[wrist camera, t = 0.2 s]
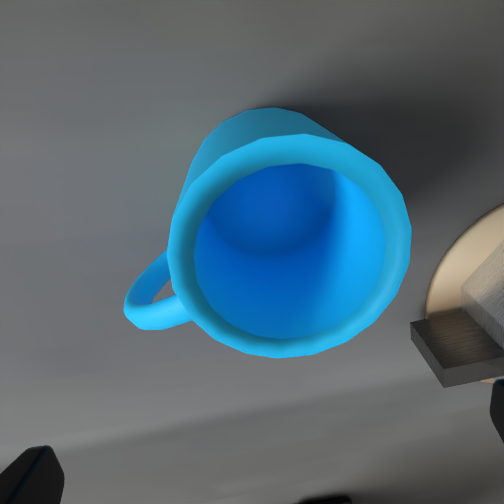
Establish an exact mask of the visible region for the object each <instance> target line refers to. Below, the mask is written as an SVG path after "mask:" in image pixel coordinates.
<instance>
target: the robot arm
mask: <svg viewBox="0 0 504 504" xmlns="http://www.w3.org/2000/svg"><path fill="white" fill-rule="evenodd" d="M490 416H491V419H492V422H493V424H494V426H495V428H496V429H497V431H498V433H499V435H500V437H501V439H502V441H503V443H504V378H502V379H497V380H495V382H494V383H493V388H492V396H491V403H490ZM63 488H64V473H63V470H62V468H61V466H60V463H59V461H58V459H57V457H56V455H55V453H54V451H53V449H52V448H51V447H50V446H47V445H44V446H38V447H31V448H28V449H27V450H25V451H24V452H23V453H22V454H21V455H20V456H19V457H18V458H17V459H16V460H15V461H13V462H12V463H11V464H10V465H9V466H8V467H7V468H6V469H5V470H4V471H3V472H2V473H1V474H0V504H60V502H61V497H62V492H63ZM312 504H352V502H351V499H350V498H348V497H343V498H338V499H333V500H327V501H322V502H317V503H312Z"/></svg>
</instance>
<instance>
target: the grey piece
mask: <svg viewBox="0 0 504 504" xmlns="http://www.w3.org/2000/svg"><path fill="white" fill-rule="evenodd" d="M410 328H411V340H412V341H413V343H414V344H415V346H416V347H417V349H418V350H419V352H420V353H421V355H422V356H423V358H424V359H425V360H426V362H427V363H428V365H429V366H430V368H431V369H432V371H433V372H434V374H435V375H436V377H437V378H438V380H439V381H440V383H441V384H442V386H443V387H444V388H446V387H451V386H456V385H461V384H466V383H471V382H476V381H481V380H486V379H491V378H494V380H497V379H502V378H504V240H503V241H502V242H501V243H500V244H499V245H498V246H497V248H496V249H495V250H494V251H493V252H492V253H491V254H490V255H489V256H488V257H487V258H486V259H485V260H484V261H483V262H482V264H481V265H480V266H479V267H478V268H477V269H476V270H475V271H474V272H473V273H472V274H471V275H470V276H469V277H468V278H467V280H466V281H465V282H464V283H463V284H462V285H461V286H460V312H457V313H453V314H448V315H443V316H438V317H433V318H429V319H424V320H419V321H414V322H410Z"/></svg>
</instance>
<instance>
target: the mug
mask: <svg viewBox="0 0 504 504" xmlns="http://www.w3.org/2000/svg"><path fill="white" fill-rule="evenodd" d="M411 234H412V228H411V224H410V221H409V217H408V214H407V210H406V206H405V203H404V199H403V196H402V194H401V192H400V191H399V190H398V188H397V187H396V186H395V184H394V183H393V182H392V180H391V179H390V178H389V176H388V175H387V174H386V172H385V171H384V169H383V168H382V167H381V165H380V164H378V163H377V162H375V161H374V160H372V159H371V158H369V157H368V156H366V155H365V154H363V153H362V152H360V151H358V150H357V149H355V148H354V147H352V146H351V145H349V144H348V143H346V142H345V141H343V140H342V139H340V138H339V137H337V136H336V135H334V134H333V133H331V132H330V131H328V130H327V129H325V128H323V127H322V126H320V125H319V124H317V123H316V122H314V121H313V120H311V119H309V118H308V117H306V116H305V115H303V114H302V113H298V112H294V111H290V110H286V109H281V108H277V107H271V108H261V109H251V110H247V111H245V112H242V113H240V114H238V115H236V116H234V117H232V118H229V119H227V120H225V121H223V122H222V123H221V124H220V125H219V126H218V127H217V128H216V129H215V130H214V131H213V132H212V133H210V134H209V135H208V136H207V137H206V138H205V139H204V141H203V142H202V144H201V146H200V148H199V150H198V152H197V154H196V155H195V157H194V159H193V161H192V163H191V166H190V169H189V172H188V175H187V178H186V180H185V183H184V186H183V189H182V192H181V195H180V198H179V201H178V204H177V206H176V209H175V212H174V215H173V218H172V223H171V229H170V236H169V242H168V249H167V250H165V251H164V252H163V253H162V254H161V255H160V256H159V257H158V258H157V259H156V260H154V261H153V262H152V263H151V264H150V265H149V266H148V267H147V268H146V269H145V270H144V271H143V273H142V274H141V275H140V276H139V277H138V278H137V279H136V280H135V282H134V283H133V285H132V286H131V288H130V290H129V291H128V293H127V294H126V297H125V303H124V313H125V316H126V317H127V318H128V319H129V320H130V321H131V322H132V323H134V324H135V325H136V326H137V327H138V328H140V329H143V330H163V329H167V328H170V327H173V326H177V325H180V324H183V323H186V322H189V321H191V320H193V321H194V322H195V323H196V324H198V325H199V326H200V327H201V328H202V329H203V330H205V331H206V332H207V333H208V334H209V335H210V336H212V337H213V338H214V339H215V340H217V341H219V342H221V343H224V344H226V345H228V346H230V347H233V348H235V349H237V350H239V351H242V352H244V353H246V354H253V355H260V356H267V357H274V358H287V357H296V356H305V355H313V354H316V353H319V352H321V351H324V350H327V349H329V348H332V347H335V346H337V345H340V344H343V343H345V342H347V341H348V340H350V339H351V338H353V337H354V336H355V335H357V334H358V333H360V332H361V331H362V330H364V329H365V328H367V327H368V326H370V325H371V324H372V323H374V322H375V320H376V319H377V318H378V317H379V316H380V314H381V313H382V312H383V311H384V310H385V308H386V307H387V306H388V305H389V303H390V302H391V301H392V300H393V299H394V297H395V296H396V294H397V292H398V289H399V287H400V285H401V282H402V280H403V278H404V275H405V273H406V270H407V268H408V266H409V260H410V247H411ZM170 278H171V281H172V286H173V290H174V292H175V293H176V294H175V295H173V296H170V297H167V298H165V299H162V300H159V301H157V302H154V303H151V302H152V301H153V299H154V297H155V296H156V294H157V293H158V292H159V291H160V289H161V288H162V287H163V286H164V285H165V283H166V282H167V281H168V280H169V279H170Z"/></svg>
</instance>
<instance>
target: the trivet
mask: <svg viewBox="0 0 504 504" xmlns="http://www.w3.org/2000/svg"><path fill="white" fill-rule="evenodd" d="M503 240H504V204H502V205H500V206H498V207H496V208H494V209H493V210H491V211H490V212H488V213H487V214H485V215H484V216H482V217H481V218H480V219H478V220H477V221H476V222H475V223H473V224H472V225H471V226H470V227H469V228H467V229H466V230H465V231H464V232H463V233H462V234H461V235H460V236H459V237H458V239H457V240H456V241H455V242H454V243H453V244H452V246H451V247H450V248H449V249H448V251H447V252H446V253H445V255H444V256H443V258H442V260H441V261H440V263H439V264H438V266H437V268H436V270H435V272H434V274H433V277H432V279H431V282H430V285H429V288H428V291H427V296H426V302H425V319H429V318H433V317H438V316H443V315H448V314H453V313H457V312H460V286H461V285H462V284H463V283H464V282H465V281H466V280H467V278H468V277H469V276H470V275H471V274H472V273H473V272H474V271H475V270H476V269H477V268H478V267H479V266H480V265H481V264H482V262H483V261H484V260H485V259H486V258H487V257H488V256H489V255H490V254H491V253H492V252H493V251H494V250H495V249H496V248H497V246H498V245H499V244H500V243H501V242H502V241H503ZM481 381H482V382H488V383H494V382H495V380H494V378H491V379H486V380H481Z"/></svg>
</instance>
